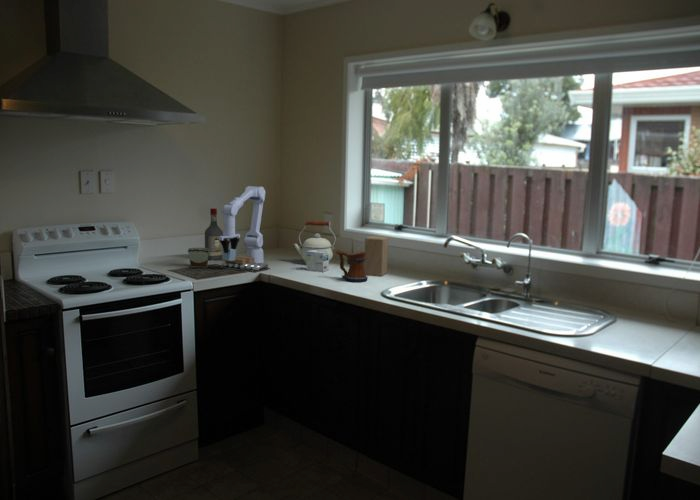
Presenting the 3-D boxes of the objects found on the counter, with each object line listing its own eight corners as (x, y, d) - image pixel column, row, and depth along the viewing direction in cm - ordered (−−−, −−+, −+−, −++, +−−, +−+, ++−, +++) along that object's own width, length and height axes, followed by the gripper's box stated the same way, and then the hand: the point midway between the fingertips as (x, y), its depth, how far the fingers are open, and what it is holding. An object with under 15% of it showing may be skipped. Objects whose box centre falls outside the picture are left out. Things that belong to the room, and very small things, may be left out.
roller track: (235, 264, 334) (235, 259, 334) (269, 268, 323) (269, 263, 322) (220, 267, 323) (220, 262, 322) (255, 272, 311) (255, 267, 311)
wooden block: (386, 273, 319) (388, 236, 316) (381, 276, 309) (383, 239, 306) (369, 271, 322) (370, 235, 319) (363, 275, 313) (364, 237, 310)
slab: (236, 259, 332) (236, 255, 331) (254, 262, 326) (254, 257, 326) (225, 262, 323) (225, 257, 322) (242, 264, 317) (242, 260, 317)
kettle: (338, 261, 350) (339, 220, 347) (331, 267, 333) (332, 223, 329) (297, 259, 355) (298, 218, 351) (289, 264, 337) (289, 221, 333)
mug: (330, 279, 300) (330, 250, 298) (342, 275, 310) (343, 247, 308) (359, 283, 291) (360, 253, 288) (371, 280, 300) (372, 251, 298)
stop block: (227, 259, 322) (229, 248, 321) (235, 260, 319) (236, 249, 319) (221, 259, 317) (223, 248, 317) (229, 260, 315) (230, 249, 314)
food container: (213, 265, 329) (213, 247, 327) (209, 267, 323) (209, 249, 321) (191, 264, 330) (191, 246, 329) (187, 266, 324) (187, 248, 322)
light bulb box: (329, 270, 323) (329, 251, 322) (323, 272, 317) (323, 252, 316) (311, 268, 328) (312, 249, 326) (306, 270, 322) (306, 250, 320)
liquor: (203, 258, 350) (203, 208, 345) (218, 257, 355) (217, 207, 351) (210, 261, 343) (209, 209, 338) (224, 259, 348) (224, 209, 343)
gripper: (232, 225, 324) (233, 249, 326) (214, 227, 311) (214, 253, 313) (242, 226, 320) (243, 251, 323) (224, 228, 308) (225, 254, 310)
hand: (229, 252), depth 318 cm, fingers closed on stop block, 5 cm apart
